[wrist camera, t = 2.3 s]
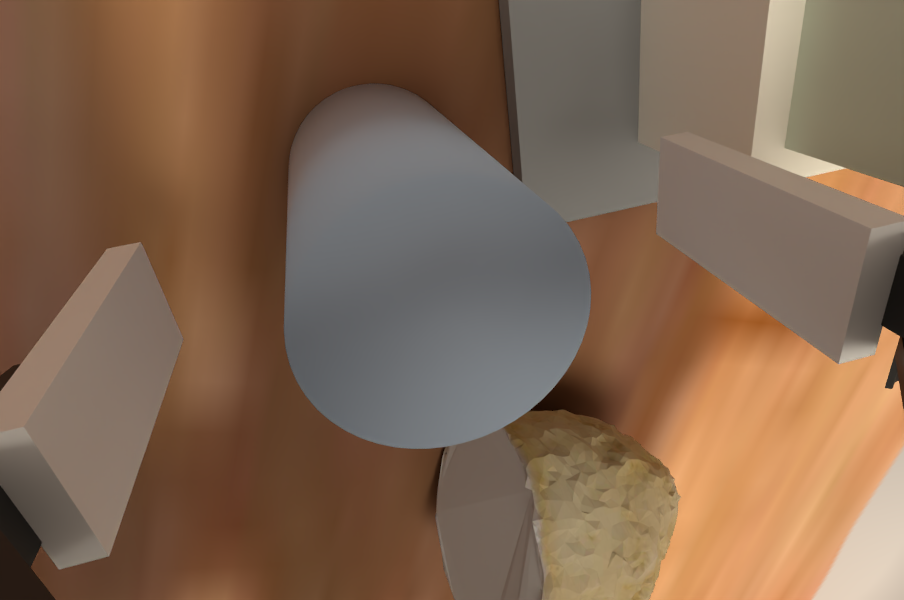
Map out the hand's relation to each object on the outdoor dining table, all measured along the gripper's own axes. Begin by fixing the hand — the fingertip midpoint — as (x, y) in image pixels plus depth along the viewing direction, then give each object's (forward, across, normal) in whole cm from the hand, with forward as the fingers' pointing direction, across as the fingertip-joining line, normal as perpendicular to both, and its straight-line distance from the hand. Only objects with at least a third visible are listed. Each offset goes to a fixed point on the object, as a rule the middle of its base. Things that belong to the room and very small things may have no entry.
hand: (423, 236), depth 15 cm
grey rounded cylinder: (+7, 0, 0) cm, 7 cm away
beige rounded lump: (+7, +4, -15) cm, 17 cm away
